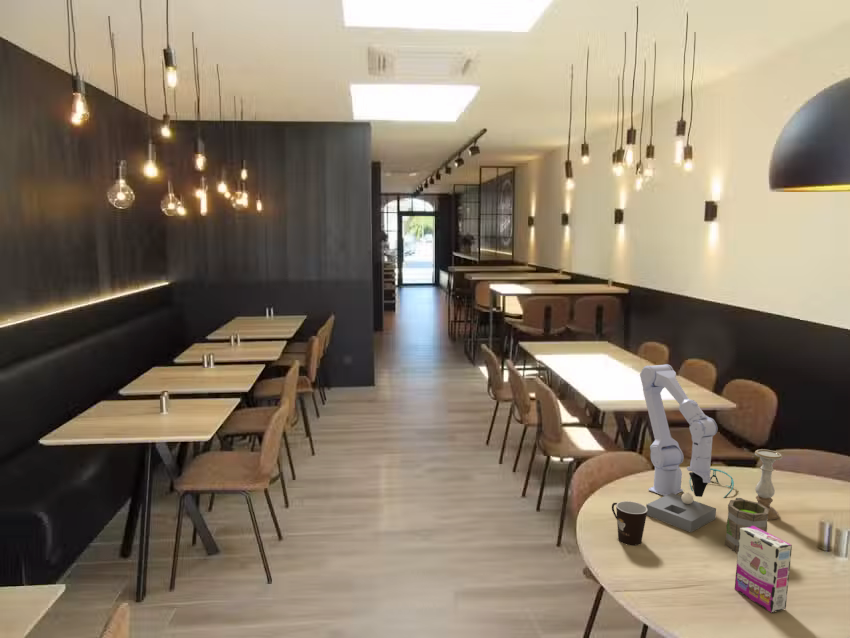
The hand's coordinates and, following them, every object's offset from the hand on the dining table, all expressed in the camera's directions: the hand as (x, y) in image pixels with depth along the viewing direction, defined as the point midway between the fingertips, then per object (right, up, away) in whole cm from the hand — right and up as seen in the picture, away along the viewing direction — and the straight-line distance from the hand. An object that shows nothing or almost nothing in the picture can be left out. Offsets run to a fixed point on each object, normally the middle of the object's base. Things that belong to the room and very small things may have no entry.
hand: (698, 495), depth 206 cm
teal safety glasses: (+12, -3, +18) cm, 22 cm away
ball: (-5, 0, -5) cm, 7 cm away
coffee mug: (-29, -7, -20) cm, 36 cm away
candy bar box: (-7, -11, -51) cm, 53 cm away
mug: (+3, -8, -22) cm, 24 cm away
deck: (-8, -5, -6) cm, 11 cm away
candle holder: (+20, -5, -3) cm, 20 cm away
